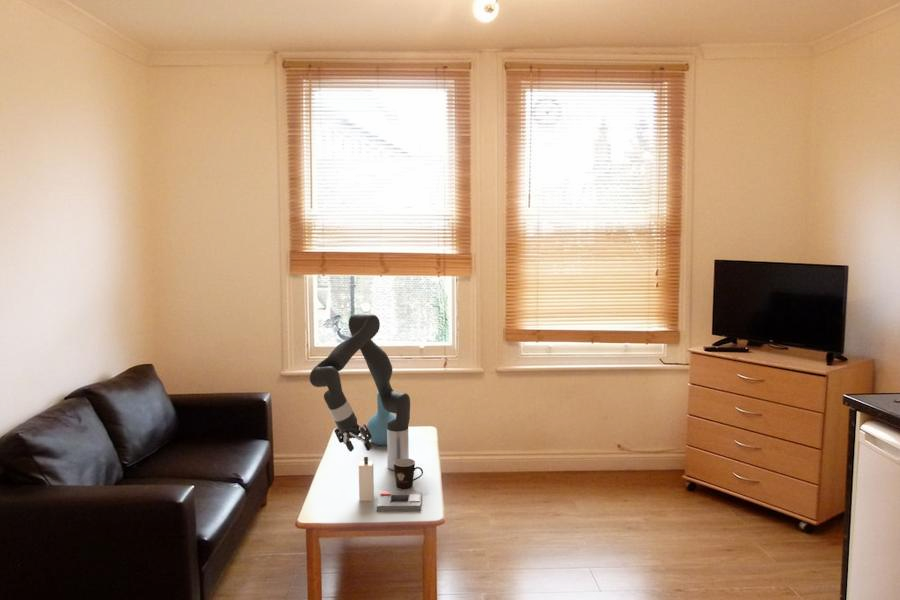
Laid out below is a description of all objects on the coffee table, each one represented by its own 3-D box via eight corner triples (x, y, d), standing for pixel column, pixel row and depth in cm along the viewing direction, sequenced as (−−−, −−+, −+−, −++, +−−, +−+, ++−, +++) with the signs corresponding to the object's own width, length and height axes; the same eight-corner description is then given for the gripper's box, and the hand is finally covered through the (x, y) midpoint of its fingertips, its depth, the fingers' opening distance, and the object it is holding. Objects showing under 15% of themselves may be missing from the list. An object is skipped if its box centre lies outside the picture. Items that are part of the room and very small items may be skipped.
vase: (376, 450, 287) (375, 398, 285) (361, 440, 301) (360, 390, 298) (407, 443, 296) (406, 393, 294) (391, 434, 310) (390, 386, 307)
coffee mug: (389, 486, 246) (389, 462, 245) (405, 480, 252) (405, 456, 251) (408, 494, 238) (408, 470, 237) (424, 488, 244) (424, 464, 243)
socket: (379, 497, 236) (379, 490, 236) (421, 496, 236) (421, 490, 236) (376, 511, 224) (376, 504, 224) (420, 510, 225) (420, 503, 224)
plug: (360, 496, 237) (360, 455, 236) (373, 495, 237) (373, 455, 236) (359, 501, 233) (358, 459, 231) (372, 500, 233) (371, 459, 231)
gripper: (363, 407, 223) (380, 442, 228) (334, 409, 231) (351, 444, 236) (352, 419, 217) (370, 455, 222) (322, 421, 225) (341, 456, 230)
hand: (360, 449), depth 229 cm, fingers open, 8 cm apart
